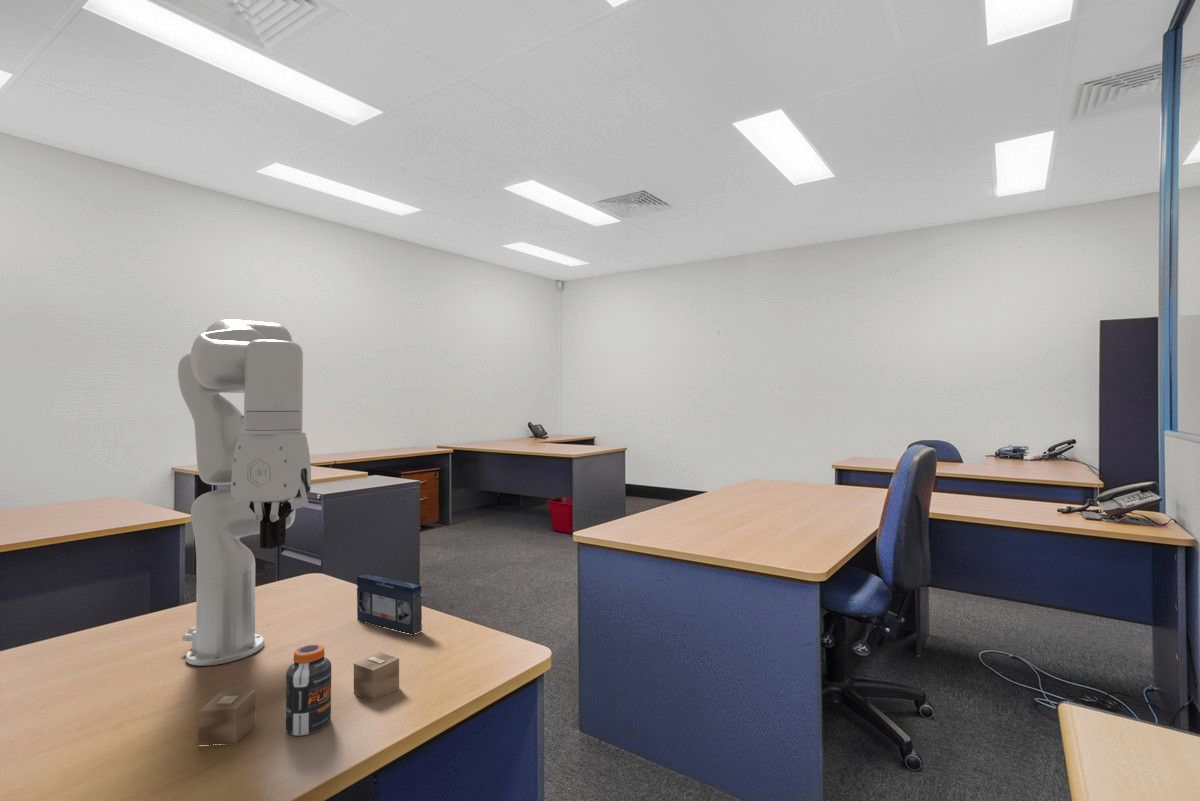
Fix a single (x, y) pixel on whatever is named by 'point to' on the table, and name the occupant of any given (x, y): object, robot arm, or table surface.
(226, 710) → the marked cube one
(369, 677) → the marked cube two
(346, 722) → the table surface
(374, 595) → the vhs cassette tape
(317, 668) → the pill bottle
